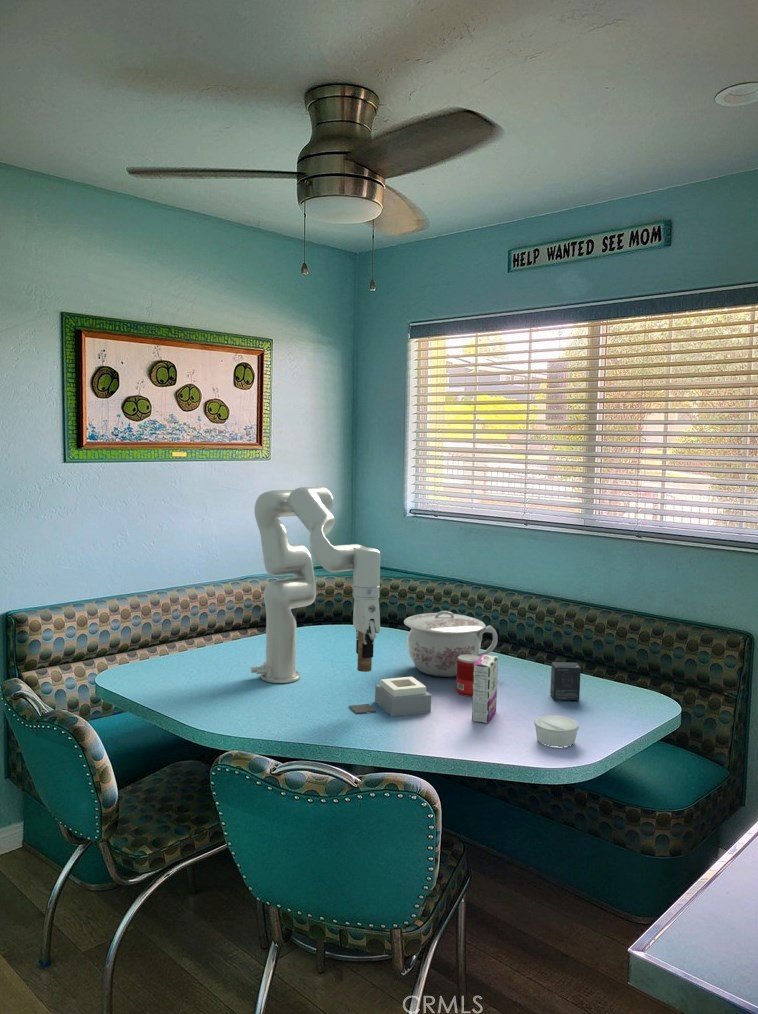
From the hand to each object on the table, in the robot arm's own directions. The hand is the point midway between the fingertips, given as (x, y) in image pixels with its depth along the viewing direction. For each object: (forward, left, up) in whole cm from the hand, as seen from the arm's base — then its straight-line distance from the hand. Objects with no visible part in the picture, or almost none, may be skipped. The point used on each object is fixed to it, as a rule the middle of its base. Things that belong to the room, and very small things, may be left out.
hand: (364, 654), depth 222 cm
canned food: (+37, +5, -16) cm, 41 cm away
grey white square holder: (+12, -1, -16) cm, 20 cm away
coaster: (0, 0, -16) cm, 16 cm away
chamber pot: (+39, +27, -16) cm, 50 cm away
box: (+63, -8, -16) cm, 65 cm away
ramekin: (+40, -37, -16) cm, 57 cm away
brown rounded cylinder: (0, 0, -4) cm, 4 cm away
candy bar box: (+31, -15, -16) cm, 38 cm away
